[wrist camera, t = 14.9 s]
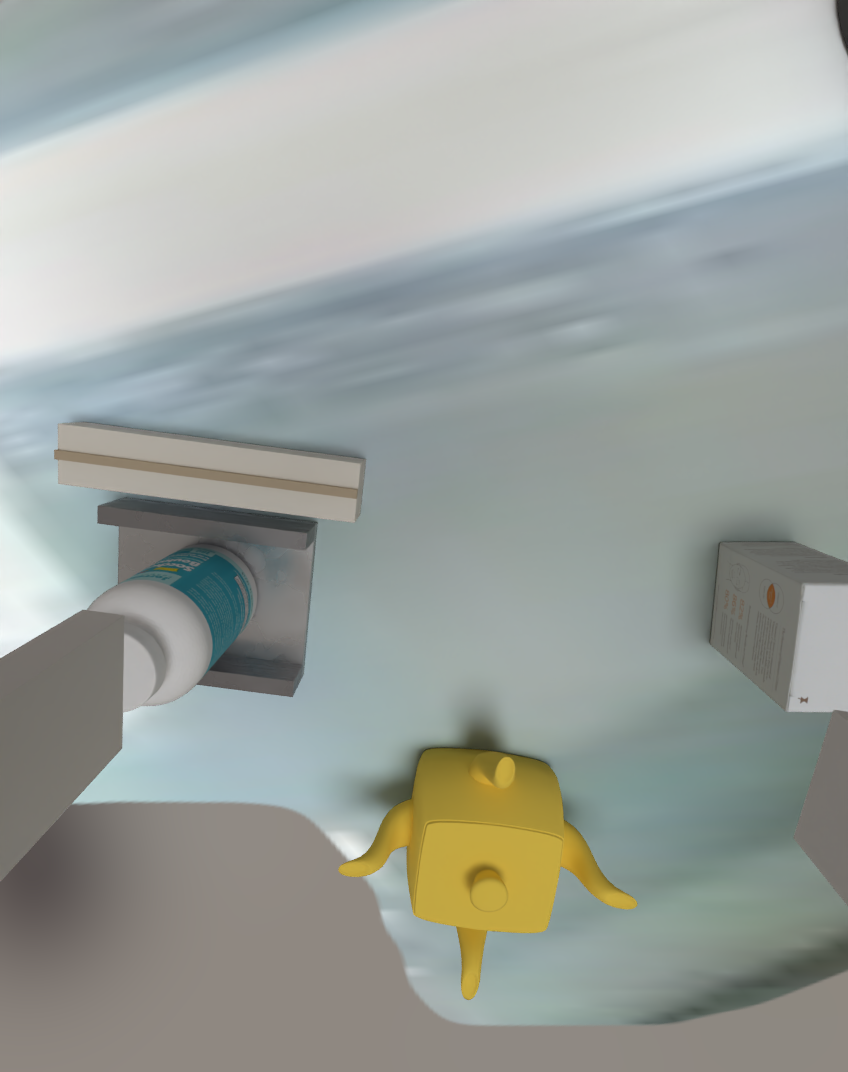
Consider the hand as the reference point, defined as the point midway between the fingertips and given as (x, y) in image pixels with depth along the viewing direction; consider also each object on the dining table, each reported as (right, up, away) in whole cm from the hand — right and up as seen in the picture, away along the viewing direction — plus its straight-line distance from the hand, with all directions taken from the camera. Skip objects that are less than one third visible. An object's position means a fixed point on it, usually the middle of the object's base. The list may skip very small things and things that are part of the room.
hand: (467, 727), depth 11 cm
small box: (+23, -1, +33) cm, 40 cm away
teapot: (+4, -18, +37) cm, 42 cm away
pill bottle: (-16, 0, +33) cm, 37 cm away
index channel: (-16, 0, +34) cm, 37 cm away
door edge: (-15, +8, +32) cm, 36 cm away
